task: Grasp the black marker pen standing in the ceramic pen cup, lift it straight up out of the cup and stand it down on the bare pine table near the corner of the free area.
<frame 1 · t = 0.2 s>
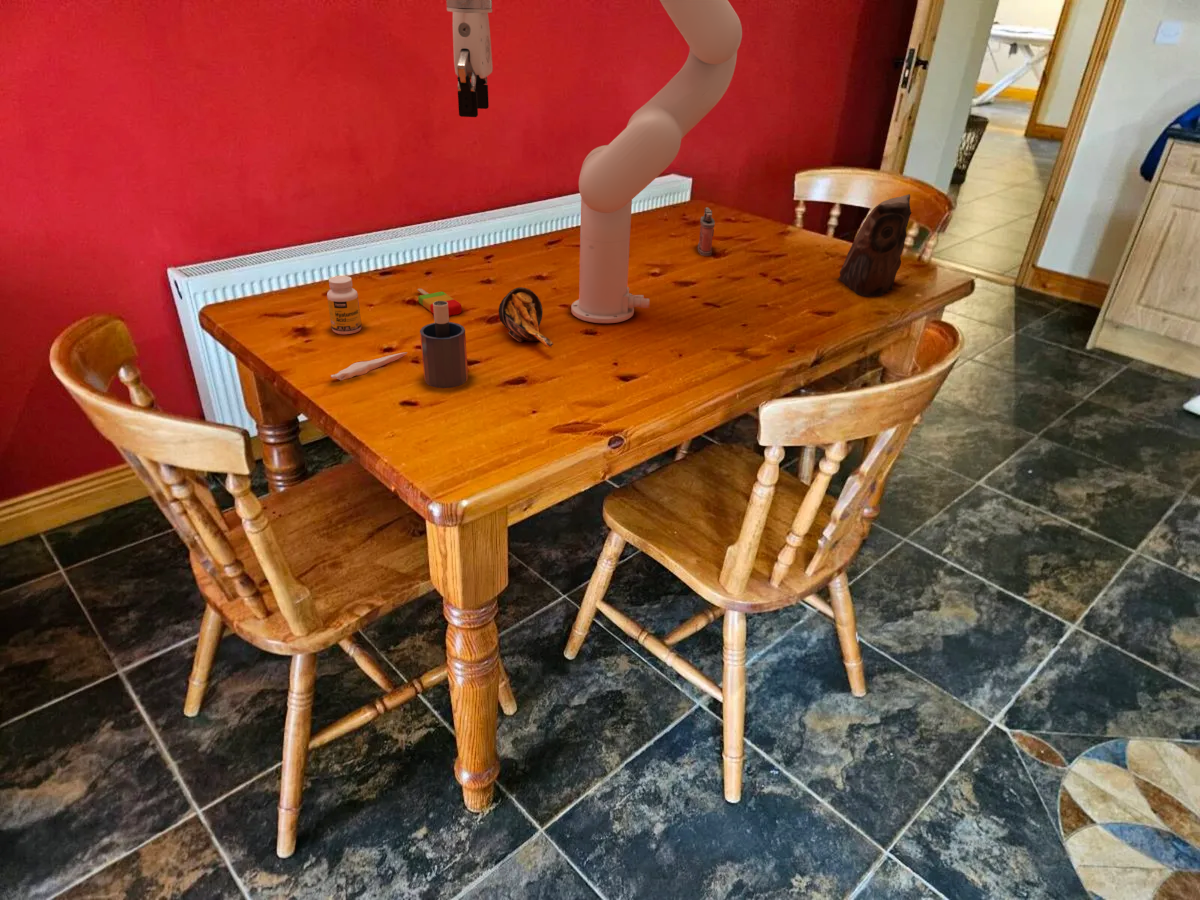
hand: (474, 112, 140), 37 cm above the table, tool pointing down, fingers open, 9 cm apart
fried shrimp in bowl: (527, 341, 146), on the table
pen cup: (446, 380, 131), on the table
lighter: (704, 251, 197), on the table
popsicle: (435, 305, 160), on the table
pale pink tapered rod: (371, 371, 133), on the table
owl: (865, 286, 178), on the table
supplement bottle: (347, 330, 148), on the table
marker pen: (446, 378, 130), resting on pen cup
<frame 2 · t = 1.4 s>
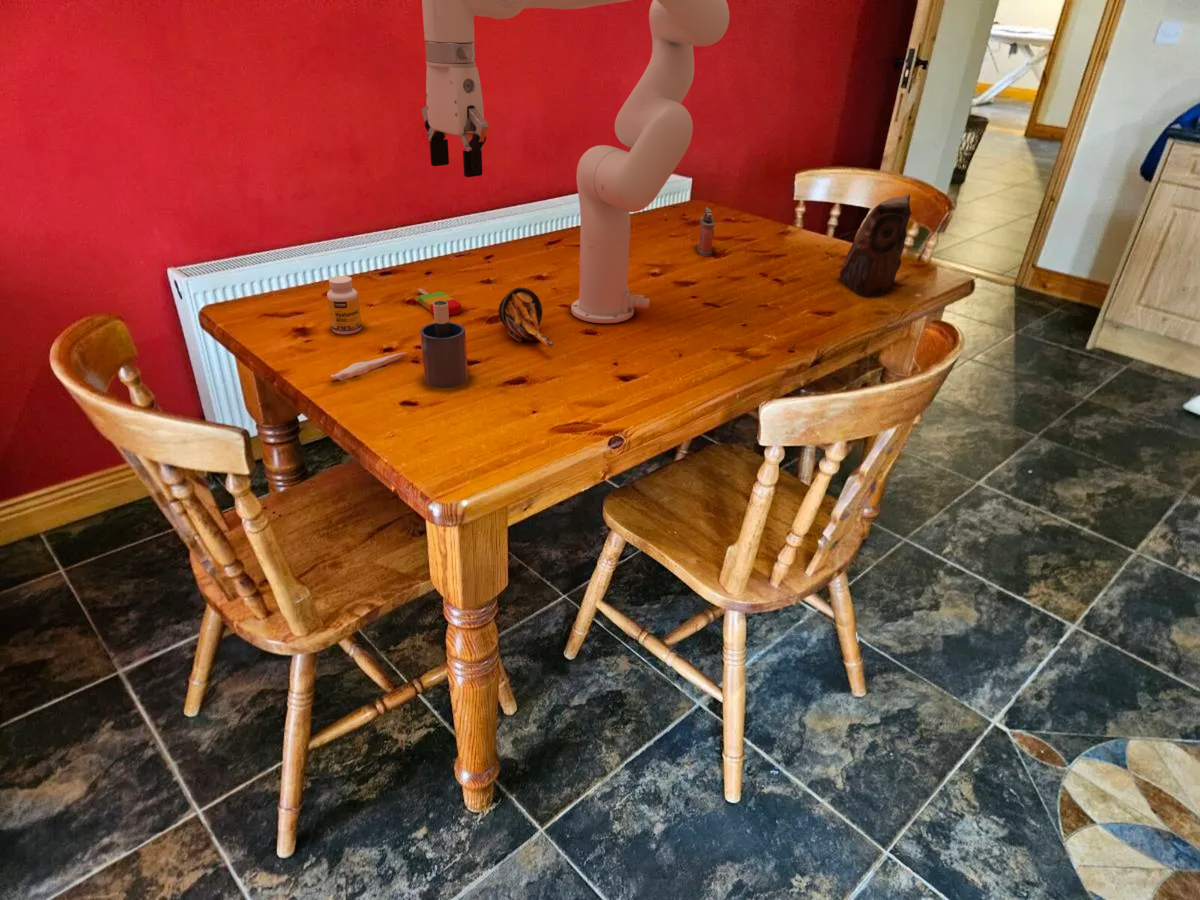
hand: (456, 170, 130), 30 cm above the table, tool pointing down, fingers open, 9 cm apart
nothing on the table moved.
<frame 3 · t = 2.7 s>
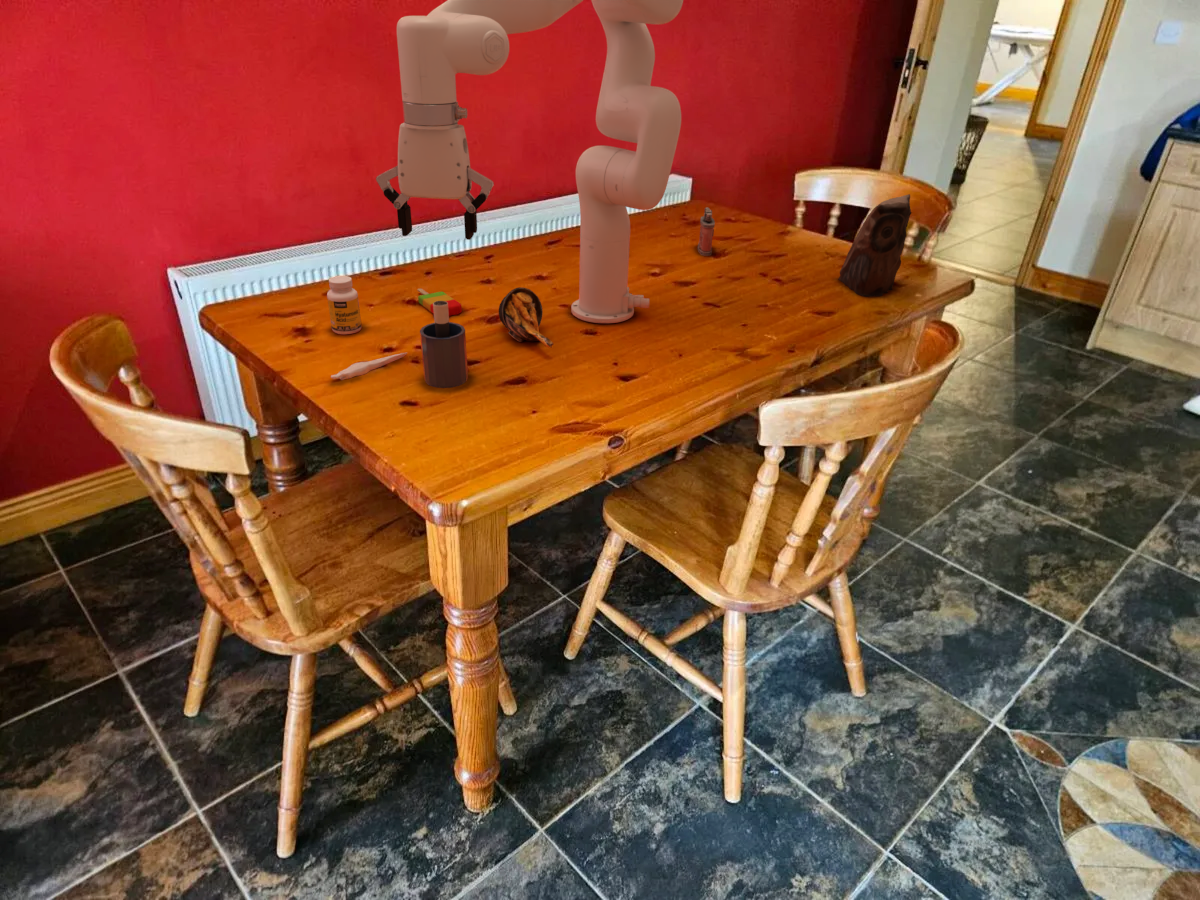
hand: (438, 235, 121), 23 cm above the table, tool pointing down, fingers open, 9 cm apart
nothing on the table moved.
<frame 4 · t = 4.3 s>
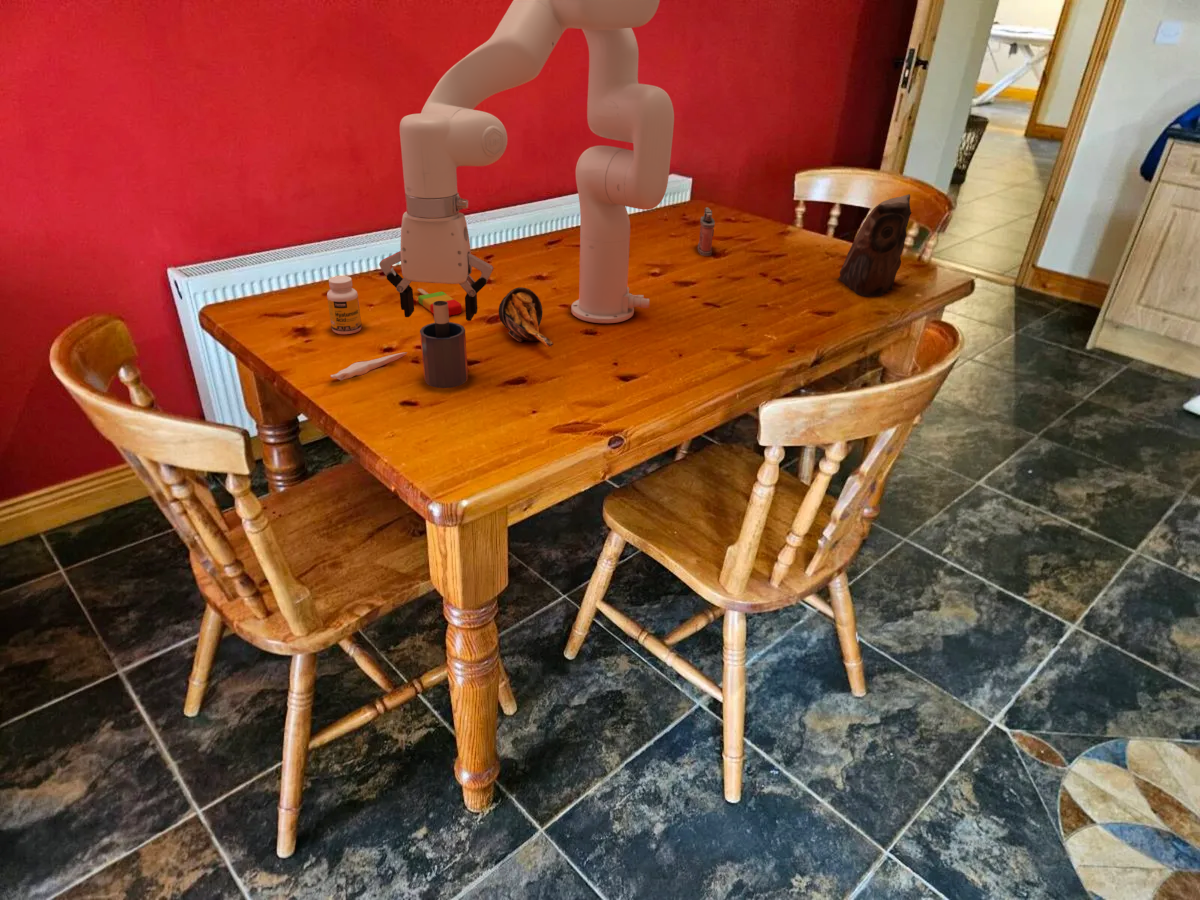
hand: (439, 316, 125), 11 cm above the table, tool pointing down, fingers open, 9 cm apart
nothing on the table moved.
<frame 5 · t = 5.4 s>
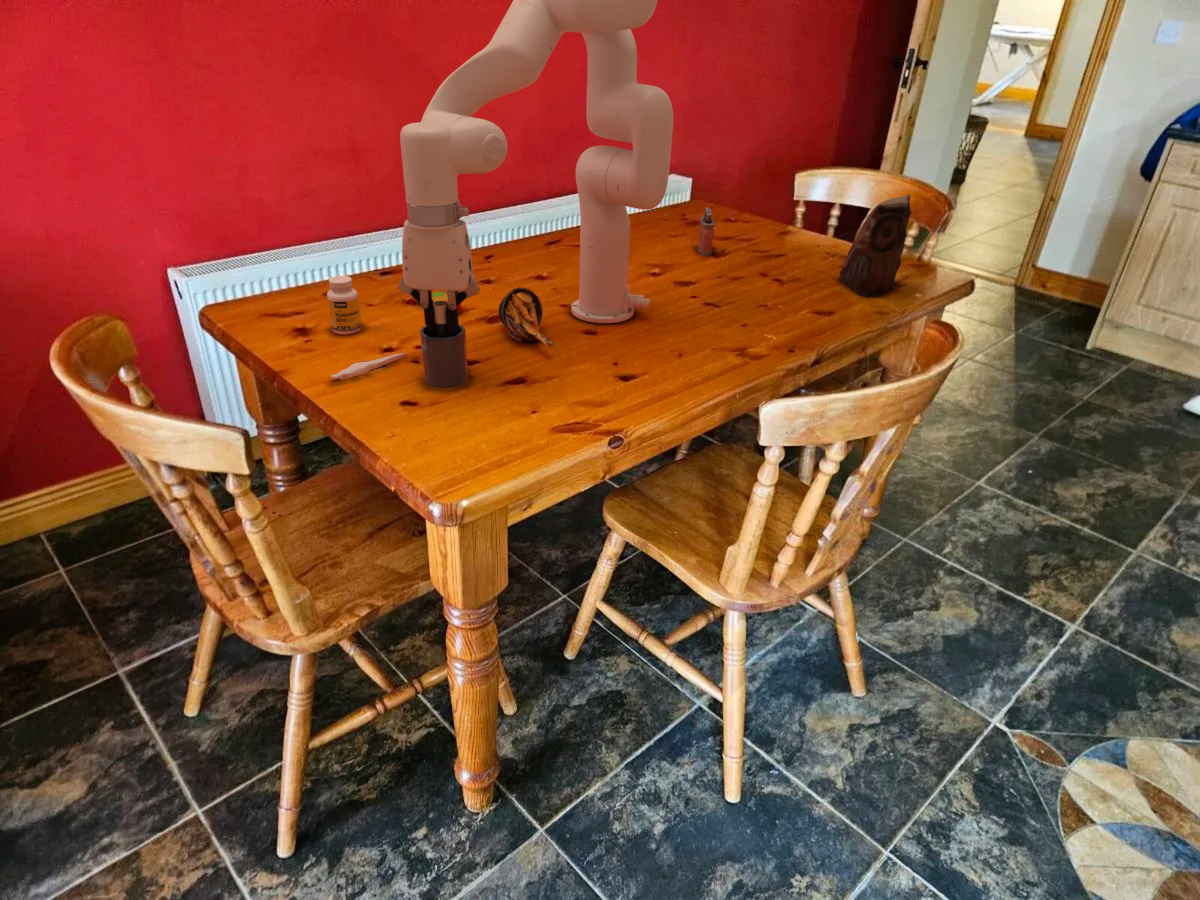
hand: (442, 329, 126), 9 cm above the table, tool pointing down, fingers closed on marker pen, 2 cm apart
marker pen: (446, 378, 130), point 1 cm above the table, touching gripper, pen cup
everything else where it was.
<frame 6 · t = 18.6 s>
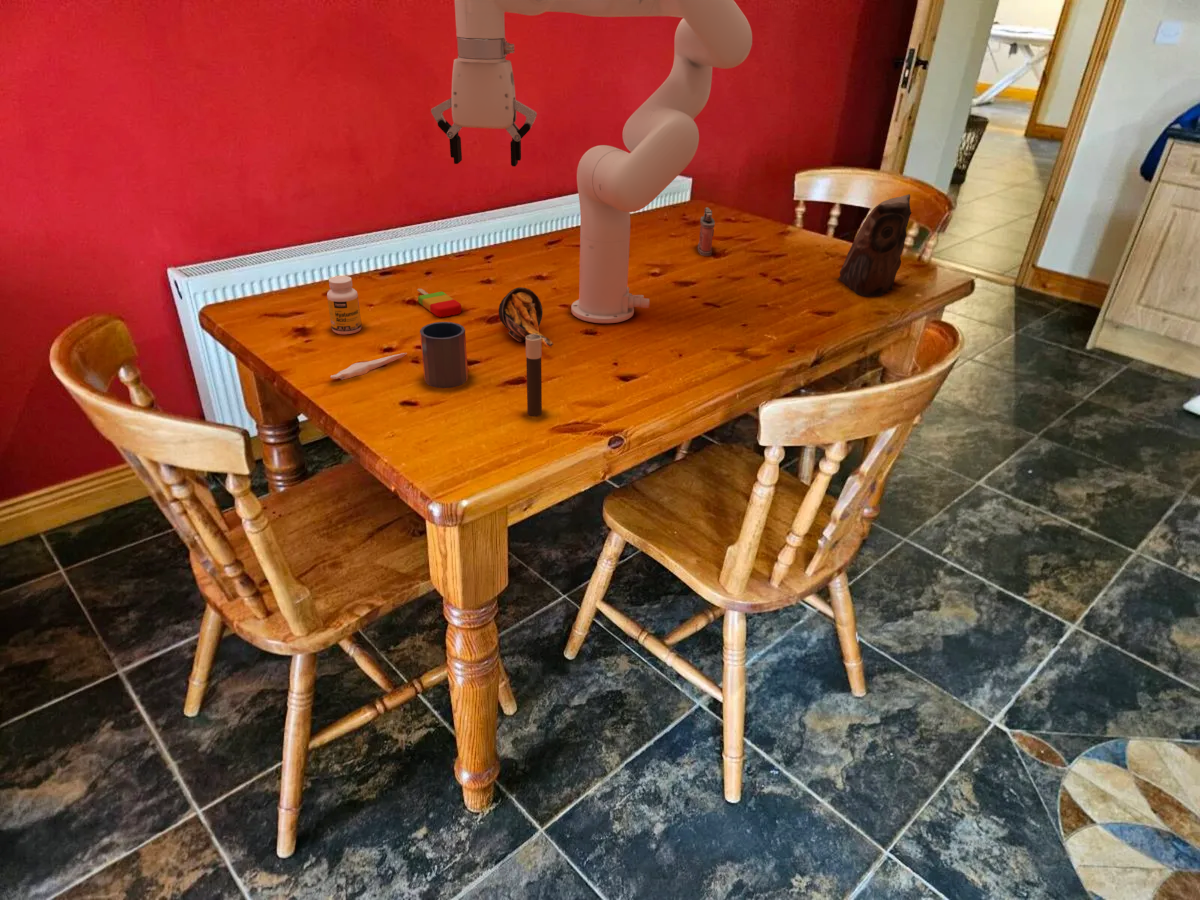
hand: (486, 163, 134), 30 cm above the table, tool pointing down, fingers open, 9 cm apart
marker pen: (534, 415, 121), on the table
everything else where it was.
at the end: marker pen inside the target area (0.2 cm from its centre), on the table; marker pen touching table; the gripper is holding nothing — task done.
